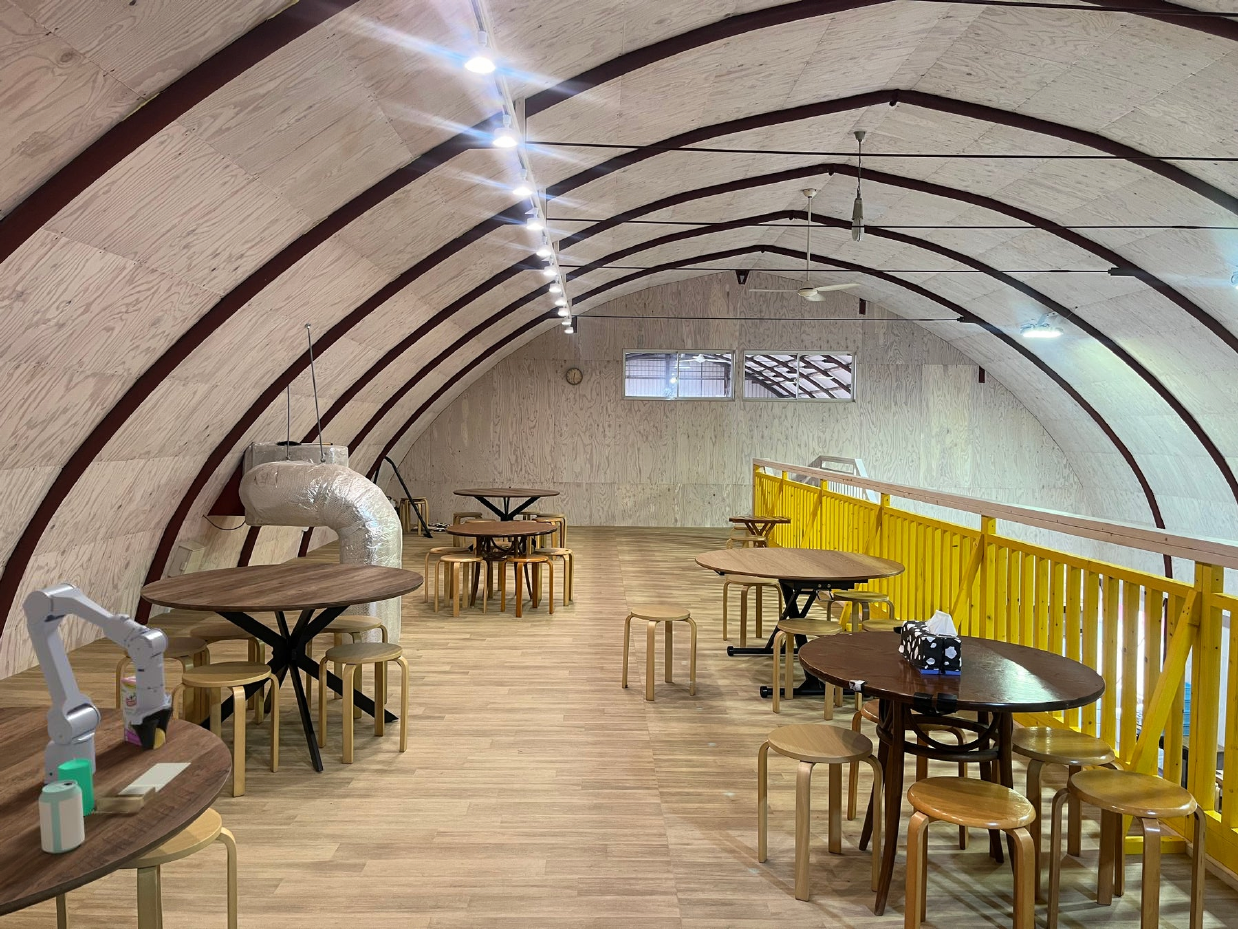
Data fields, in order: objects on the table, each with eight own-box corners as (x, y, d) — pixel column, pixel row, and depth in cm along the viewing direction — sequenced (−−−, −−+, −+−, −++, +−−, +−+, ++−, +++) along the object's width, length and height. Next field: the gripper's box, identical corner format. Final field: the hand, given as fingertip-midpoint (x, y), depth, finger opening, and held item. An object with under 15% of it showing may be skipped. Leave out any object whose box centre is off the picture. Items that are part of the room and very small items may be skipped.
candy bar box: (123, 743, 232) (119, 679, 231) (142, 737, 236) (138, 673, 235) (148, 751, 226) (144, 685, 225) (168, 745, 230) (164, 680, 229)
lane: (103, 809, 194) (102, 805, 194) (157, 766, 217) (157, 763, 216) (141, 808, 194) (140, 805, 194) (191, 766, 216) (191, 762, 216)
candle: (70, 822, 189) (67, 764, 188) (55, 815, 192) (51, 759, 191) (100, 810, 194) (96, 754, 193) (84, 804, 197) (81, 749, 196)
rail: (97, 812, 193) (96, 800, 193) (113, 799, 199) (112, 787, 199) (140, 811, 193) (140, 799, 193) (156, 798, 199) (155, 787, 199)
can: (50, 840, 181) (46, 780, 180) (89, 835, 182) (86, 776, 181) (36, 857, 174) (32, 795, 173) (77, 852, 175) (73, 791, 175)
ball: (139, 752, 205) (138, 732, 205) (149, 744, 210) (148, 725, 209) (159, 751, 205) (158, 731, 205) (169, 744, 210) (168, 724, 209)
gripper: (152, 695, 199) (155, 757, 200) (183, 675, 214) (186, 732, 215) (119, 696, 199) (123, 757, 200) (152, 676, 213) (156, 733, 214)
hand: (153, 745), depth 207 cm, fingers closed on ball, 4 cm apart
